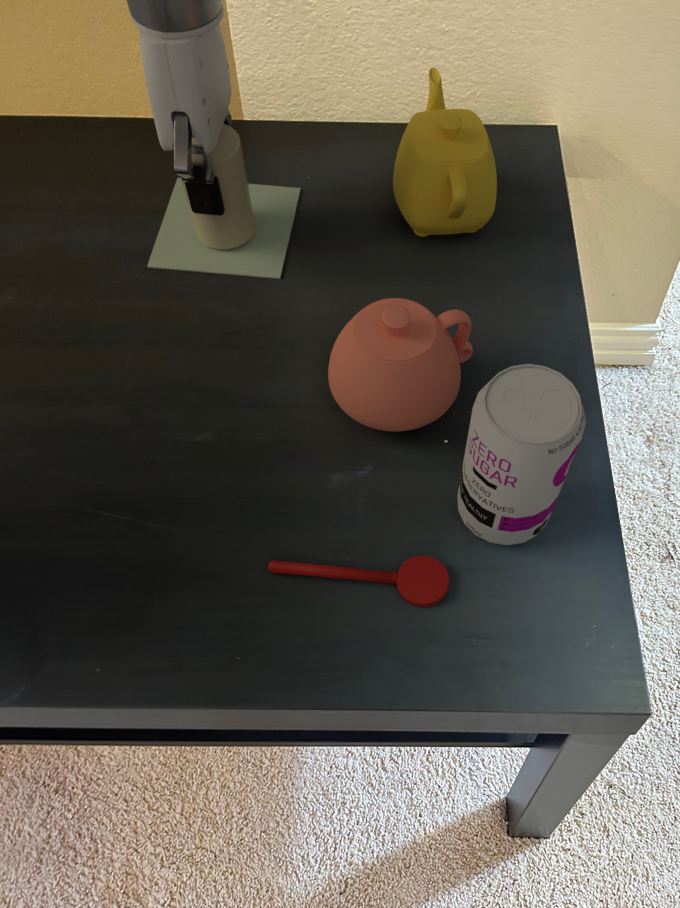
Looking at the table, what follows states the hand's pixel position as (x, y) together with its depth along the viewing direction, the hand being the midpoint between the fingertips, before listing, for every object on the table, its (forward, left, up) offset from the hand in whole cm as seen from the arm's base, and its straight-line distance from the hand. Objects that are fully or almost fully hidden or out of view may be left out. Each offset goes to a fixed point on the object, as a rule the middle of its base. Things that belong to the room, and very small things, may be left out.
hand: (216, 187), depth 76 cm
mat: (0, +1, -6) cm, 6 cm away
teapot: (+23, +7, -6) cm, 25 cm away
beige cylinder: (0, 0, -5) cm, 5 cm away
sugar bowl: (+21, -19, -6) cm, 29 cm away
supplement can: (+31, -31, -6) cm, 44 cm away
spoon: (+19, -39, -6) cm, 44 cm away
